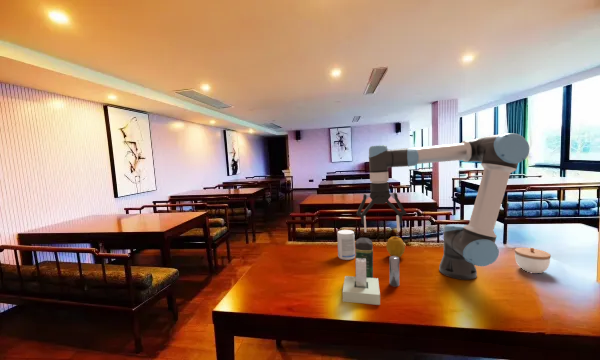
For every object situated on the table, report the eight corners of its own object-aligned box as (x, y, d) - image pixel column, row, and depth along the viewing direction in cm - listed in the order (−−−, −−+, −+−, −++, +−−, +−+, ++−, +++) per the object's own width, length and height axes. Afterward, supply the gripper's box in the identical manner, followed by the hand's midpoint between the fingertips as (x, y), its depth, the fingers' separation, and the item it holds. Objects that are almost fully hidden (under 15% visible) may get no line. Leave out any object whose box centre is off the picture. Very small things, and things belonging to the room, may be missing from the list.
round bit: (398, 282, 116) (398, 256, 115) (399, 286, 112) (399, 259, 111) (389, 281, 117) (389, 255, 116) (390, 286, 113) (389, 259, 112)
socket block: (378, 287, 112) (378, 278, 112) (380, 305, 99) (380, 294, 98) (345, 284, 116) (345, 275, 115) (342, 301, 102) (342, 291, 102)
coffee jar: (373, 284, 115) (373, 243, 114) (355, 282, 117) (354, 242, 116) (372, 274, 125) (372, 236, 123) (356, 273, 127) (355, 236, 125)
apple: (384, 253, 151) (384, 234, 150) (402, 254, 150) (402, 234, 149) (388, 260, 142) (387, 239, 141) (406, 260, 140) (406, 239, 139)
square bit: (366, 291, 109) (366, 258, 108) (366, 296, 105) (366, 262, 104) (356, 290, 110) (356, 258, 109) (356, 295, 106) (355, 261, 105)
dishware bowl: (548, 279, 114) (549, 254, 113) (511, 270, 124) (512, 248, 123) (551, 270, 122) (552, 247, 122) (517, 263, 132) (517, 242, 131)
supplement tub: (358, 256, 148) (358, 231, 147) (348, 261, 141) (348, 235, 140) (344, 253, 155) (343, 228, 154) (334, 257, 148) (333, 232, 147)
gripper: (408, 179, 112) (410, 228, 113) (349, 182, 117) (352, 229, 118) (412, 181, 104) (414, 233, 106) (349, 184, 110) (352, 233, 111)
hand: (381, 231), depth 112 cm, fingers open, 13 cm apart
